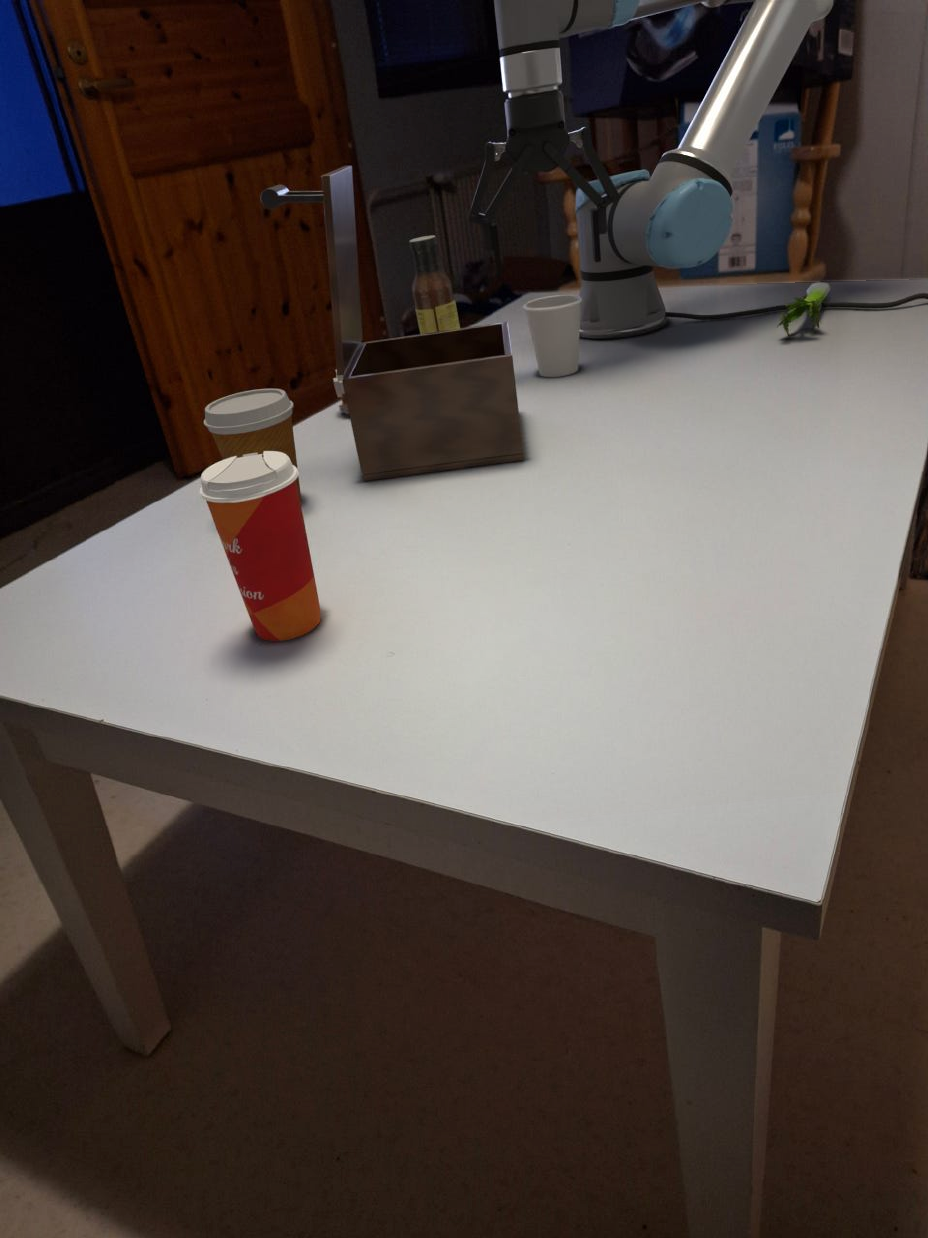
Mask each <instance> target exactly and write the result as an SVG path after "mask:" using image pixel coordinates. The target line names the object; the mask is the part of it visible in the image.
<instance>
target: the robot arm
mask: <svg viewBox="0 0 928 1238" xmlns="http://www.w3.org/2000/svg"><path fill="white" fill-rule="evenodd" d="M836 1H837V0H493V4H494V15H495V22H496V34H497V42H498V43H497V44H498V50H499V63H500V73H501V84H502V92H503V93H505V94H508V95H507V96H508V97H507V98H506V99H505V102H504V104H503V105H504V115H505V121H506V122H505V124H506V133H507V134H506V135H507V138H506V141H505V142H491V141H488V142H486V144H485V147H484V159H485V160H484V164H483V167H482V171H481V174H480V177H479V180H478V183H477V187H476V190H475V193H474V195H473V196H474V197H473V199H472V203H471V205H470V206H471V207H470V209H469V212H468V221H469V222H470V223H474V224H476V225H480V226H481V227H482V231H483V239H484V247H485V250H486V251H487V252H489V251H493V253H494V261H495V262H494V263H495V270H496V277H503V268H502V259H501V249H500V239H499V232H498V223H497V222H494V223H492V222H493V220H494V218H495V217H496V215H497V214H498V212H499V210H500V208H501V207H502V205H503V204H504V201H505V200H506V199H507V198H508V195H509V193H510V192H511V190H512V188H513V187H514V185H515V183H516V182H517V180H518V179H519V177H520V176H521V174H522V173H523V174H525V175H528V176H531V175H536V174H537V173H538V174H539V173H540V172H543V173H550V172H553V171H555V170H556V169H557V168H558V167H559V169H561V171H562V172H564V174H565V175H566V176H567V177H568V178H569V179H570V180H571V181H572V183H574V184H575V185H576V187H577V189H576V192H575V207H574V208H575V209H574V210H575V211H574V215H575V216H576V229H577V230H576V231H577V241H578V253H579V268H580V280H581V284H580V285H581V286H580V290H579V293H578V294H579V295H578V296H580V297H581V298H582V301H581V305H580V331H579V338H584V339H591V340H605V339H607V340H608V339H620V338H627V337H628V338H629V337H635V336H640V335H644V334H647V333H651V332H654V331H656V330H659V329H662V328H663V327H664V326H665V325H667V322H668V318H674V319H675V318H676V319H687V320H695V321H715V320H716V321H717V320H727V319H733V318H741V317H748V316H755V315H762V314H766V313H772V312H779V311H786V310H787V311H788V310H789V309H787V307H788V306H787V305H786V304H779V305H773V306H769V307H767V306H766V307H762V308H755V309H749V310H742V311H734V312H728V313H718V314H717V313H716V314H695V313H686V312H674V311H667V309H666V305H665V302H664V300H663V297H662V294H661V292H660V289H659V285H658V283H657V280H656V278H655V274H654V273H655V271H654V267H656V268H657V267H658V268H664V269H668V270H679V269H690V268H696V267H698V266H701V265H703V264H705V263H707V262H709V260H711V259H712V258H713V257H714V256H716V254H717V253H719V251H720V250H721V248H722V247H723V246H724V245H725V242H726V240H727V239H728V236H729V234H730V232H731V228H732V224H733V218H732V217H731V214H732V213H733V211H734V206H733V205H734V204H733V201H732V198H731V197H732V195H733V193H734V184H733V180H732V178H731V175H732V173H733V171H734V169H735V168H736V166H737V164H738V162H739V160H740V159H741V156H742V154H743V153H744V151H745V150H746V147H747V145H748V144H749V142H750V139H751V138H752V136H753V134H754V132H755V130H756V128H757V126H758V124H759V122H760V121H761V119H762V117H763V115H764V113H765V112H766V109H767V107H768V106H769V104H770V102H771V100H772V99H773V96H774V94H775V92H776V90H777V89H778V87H779V85H780V84H781V81H782V79H783V78H784V75H785V74H786V72H787V70H788V68H789V66H790V64H791V62H792V61H793V59H794V57H795V55H796V53H797V51H798V50H799V48H800V45H801V44H802V43H803V40H804V38H805V36H806V34H807V32H808V31H809V29H810V27H811V25H812V24H813V22H818V21H820V20H822V19H824V18H825V17H826V16H828V14H829V13H830V12H831V11H832V8H833V6H834V4H835V3H836ZM741 3H753V4H752V5H751V7H750V10H749V11H748V13H747V15H746V17H745V20H744V21H743V23H742V25H741V27H740V28H739V30H738V33H736V36H735V38H734V40H733V41H732V44H731V45H730V48H729V50H728V52H727V53H726V54H725V55H726V56H725V57H724V59H723V61H722V63H721V64H720V67H719V69H718V71H717V72H716V74H715V76H714V78H713V80H712V82H711V84H710V85H709V88H708V90H707V91H706V94H705V96H704V98H703V100H702V101H701V103H700V105H699V107H698V109H697V111H696V112H695V115H694V116H693V119H692V120H691V122H690V124H689V126H688V128H687V129H686V132H685V134H684V136H683V137H682V139H681V141H680V143H679V145H678V147H677V148H675V149H672V150H669V151H666V152H664V153H663V155H661V157H660V159H659V160H658V163H657V164H656V166H655V169H654V170H653V173H652V175H650V172H649V171H648V170H647V169H641V170H640V169H639V170H634V171H628V172H624V173H619V174H615V175H611V176H610V174H609V173H608V171H607V170H606V168H605V166H604V164H603V162H602V160H601V158H600V157H599V155H598V153H597V151H596V149H595V147H594V145H593V140H592V133H591V130H590V128H589V127H588V126H587V127H585V126H584V127H583V126H582V127H581V128H580V129H578V130H575V131H571V132H569V131H568V130H567V127H566V118H565V105H564V93H563V92H562V90H559V87H558V86H560V85H562V83H563V78H562V77H563V76H562V64H561V63H562V62H561V50H560V49H561V48H560V41H559V40H560V39H562V38H563V39H564V38H567V37H570V36H574V35H578V34H583V33H587V32H589V31H595V30H600V29H606V30H608V29H609V30H610V29H612V28H614V27H620V26H623V25H627V23H629V22H630V21H633V20H636V19H640V18H644V17H645V18H646V17H648V16H653V15H656V14H661V13H665V12H669V11H673V10H676V9H677V10H678V9H680V8H685V7H688V6H689V7H690V6H693V5H698V4H702V5H703V6H705V7H707V8H717V7H721V6H724V5H730V4H741ZM571 142H573V143H574V145H575V146H576V148H578V149H582V152H583V154H584V156H585V158H586V160H587V161H588V163H589V165H590V167H591V168H592V171H593V172H594V174H595V177H596V178H597V179H595V180H591V181H587V180H586V179H585V177H584V176H583V175H582V174H581V173H580V172H579V171H578V170H577V169H576V168H575V167H574V166H573V165H572V163H571V162H570V161H569V160H568V159H567V158H566V157H565V156H564V155H565V153H566V151H567V150H568V147H569V145H570V144H571ZM503 153H506V154H507V155H508V156H509V158H510V159H511V160H512V161H513V165H511V168H510V170H509V171H508V173H507V175H506V177H505V178H504V179H503V181H502V183H501V185H500V187H499V188H498V190H497V192H496V194H495V195H494V197H493V198H492V201H491V202H490V204H489V205H488V207H487V209H486V210H485V212H484V213H481V212H480V211H481V208H482V205H483V202H484V198H485V195H486V193H487V190H488V186H489V183H490V180H491V177H492V174H493V170H494V168H495V167H494V166H495V162H498V161H500V159H501V158H502V157H501V156H502V154H503ZM921 299H923V300H928V292H918V293H915V294H911V295H909V296H906V297H904V298H901V299H898V300H894V301H889V302H851V301H832V302H831V301H829V302H827V301H826V302H825V301H822V302H821V309H823V308H827V309H829V308H830V309H833V308H836V309H837V308H845V309H846V308H849V309H889V308H895V307H898V306H899V307H900V306H902V305H905V304H907V303H910V302H912V301H917V300H921ZM792 306H793V305H792ZM789 307H791V306H790V305H789ZM789 307H788V308H789ZM818 307H819V308H820V306H818ZM793 308H794V307H793ZM793 308H791V309H793ZM791 309H790V310H791ZM807 309H809V307H808V308H807Z"/></svg>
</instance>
